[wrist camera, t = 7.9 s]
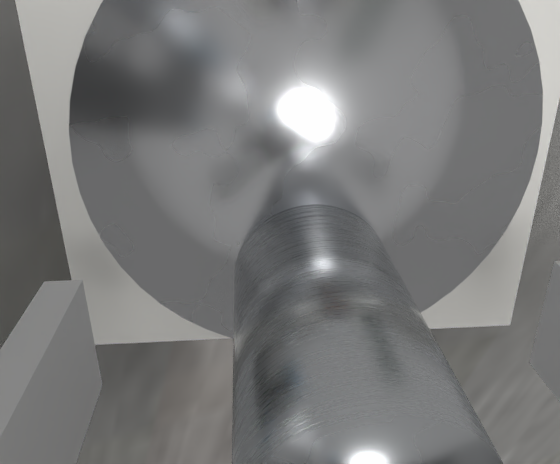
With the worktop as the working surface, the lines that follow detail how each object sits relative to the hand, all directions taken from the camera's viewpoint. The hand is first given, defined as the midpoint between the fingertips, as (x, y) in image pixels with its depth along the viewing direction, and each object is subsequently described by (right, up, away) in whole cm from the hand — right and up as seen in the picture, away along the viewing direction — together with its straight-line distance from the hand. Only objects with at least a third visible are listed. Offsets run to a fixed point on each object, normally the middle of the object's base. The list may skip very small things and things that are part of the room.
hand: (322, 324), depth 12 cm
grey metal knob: (0, +1, +2) cm, 2 cm away
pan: (0, +4, +2) cm, 5 cm away
